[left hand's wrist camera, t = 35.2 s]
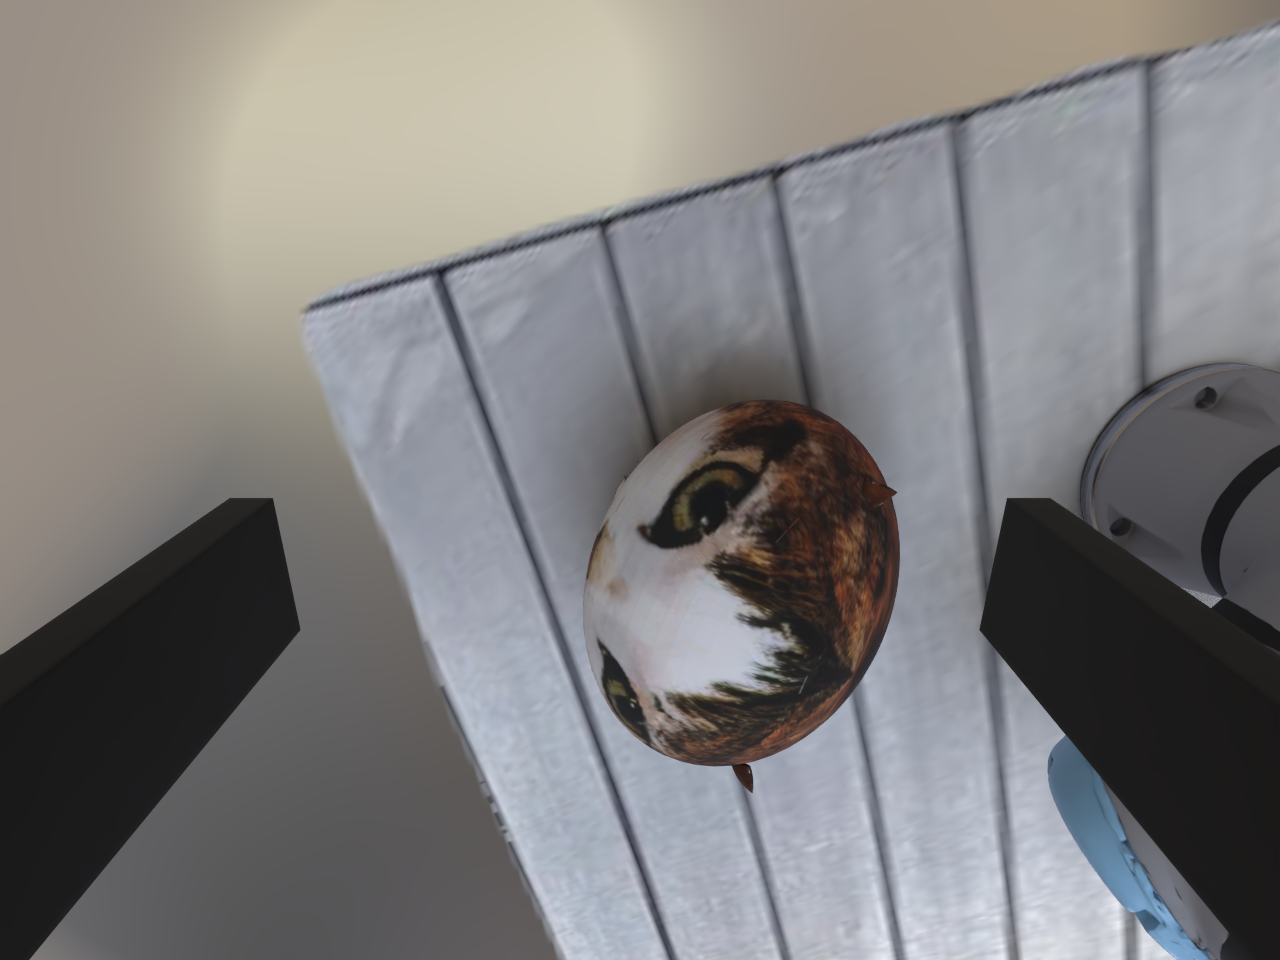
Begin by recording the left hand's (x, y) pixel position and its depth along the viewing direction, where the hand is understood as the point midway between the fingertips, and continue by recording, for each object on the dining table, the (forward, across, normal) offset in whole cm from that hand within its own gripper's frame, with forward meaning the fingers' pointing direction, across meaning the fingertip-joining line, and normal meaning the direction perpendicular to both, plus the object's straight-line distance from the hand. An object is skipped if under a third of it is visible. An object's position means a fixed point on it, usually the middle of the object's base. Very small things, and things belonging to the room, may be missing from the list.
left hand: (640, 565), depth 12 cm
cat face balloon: (+33, +6, -14) cm, 36 cm away
